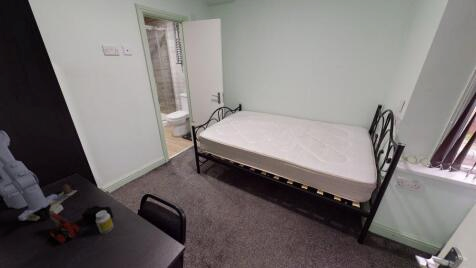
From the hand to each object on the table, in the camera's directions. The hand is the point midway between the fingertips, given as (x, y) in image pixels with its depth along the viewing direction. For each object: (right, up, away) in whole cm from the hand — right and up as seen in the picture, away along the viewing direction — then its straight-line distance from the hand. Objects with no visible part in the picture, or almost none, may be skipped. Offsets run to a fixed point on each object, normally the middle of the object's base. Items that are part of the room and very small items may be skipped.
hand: (46, 219), depth 86 cm
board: (-7, +3, +10) cm, 12 cm away
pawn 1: (-7, +1, +1) cm, 8 cm away
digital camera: (+26, -1, +1) cm, 26 cm away
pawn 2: (-6, +7, +17) cm, 20 cm away
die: (0, +1, +5) cm, 5 cm away
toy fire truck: (+17, -4, -6) cm, 18 cm away
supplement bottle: (+33, -3, -4) cm, 33 cm away
